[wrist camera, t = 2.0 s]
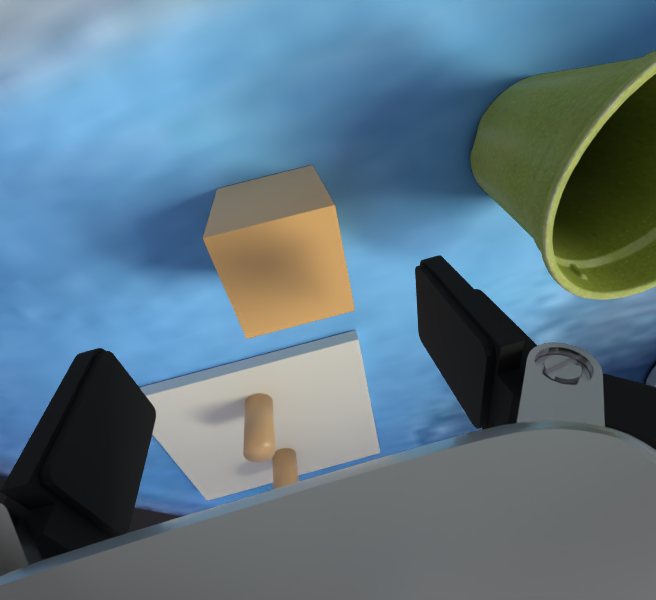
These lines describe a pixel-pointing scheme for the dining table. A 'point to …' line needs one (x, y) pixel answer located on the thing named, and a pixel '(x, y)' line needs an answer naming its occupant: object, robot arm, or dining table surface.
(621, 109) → the plant pot
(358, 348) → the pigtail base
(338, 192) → the dining table surface
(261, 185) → the tan cardboard-like box
